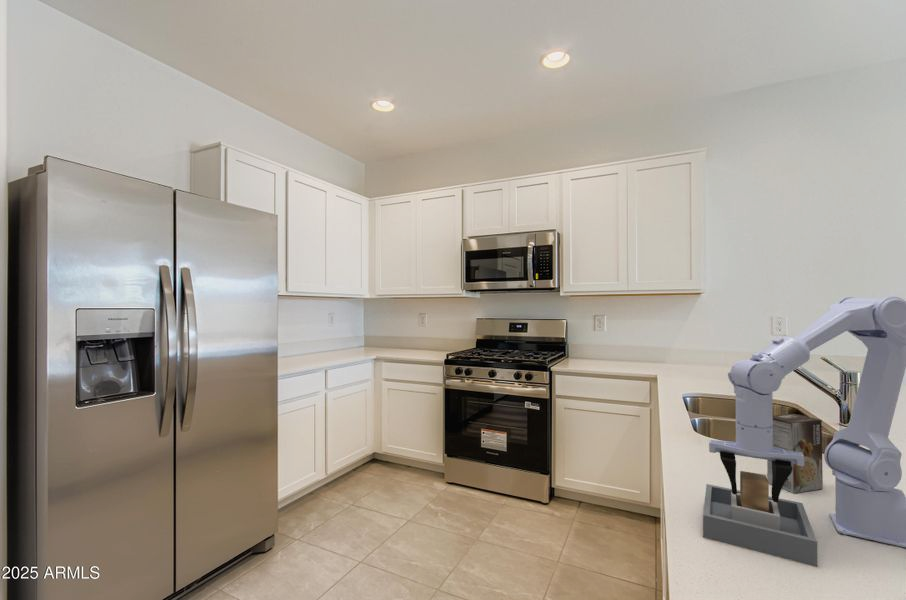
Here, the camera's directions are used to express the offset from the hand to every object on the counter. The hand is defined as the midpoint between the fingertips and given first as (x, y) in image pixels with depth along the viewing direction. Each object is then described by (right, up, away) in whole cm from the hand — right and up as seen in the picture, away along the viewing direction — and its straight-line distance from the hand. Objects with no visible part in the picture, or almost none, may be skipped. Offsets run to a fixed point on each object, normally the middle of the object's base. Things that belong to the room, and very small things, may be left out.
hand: (754, 496), depth 80 cm
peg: (0, -5, 0) cm, 5 cm away
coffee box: (+23, -7, +19) cm, 31 cm away
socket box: (0, -6, 0) cm, 6 cm away
